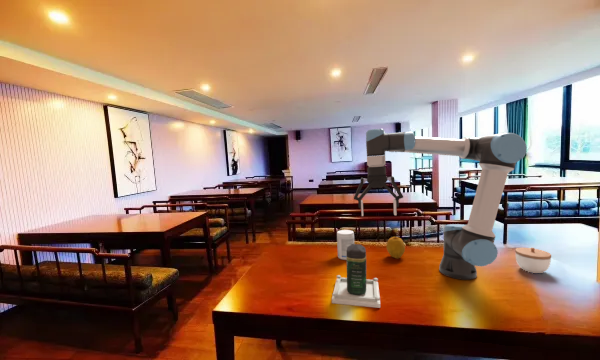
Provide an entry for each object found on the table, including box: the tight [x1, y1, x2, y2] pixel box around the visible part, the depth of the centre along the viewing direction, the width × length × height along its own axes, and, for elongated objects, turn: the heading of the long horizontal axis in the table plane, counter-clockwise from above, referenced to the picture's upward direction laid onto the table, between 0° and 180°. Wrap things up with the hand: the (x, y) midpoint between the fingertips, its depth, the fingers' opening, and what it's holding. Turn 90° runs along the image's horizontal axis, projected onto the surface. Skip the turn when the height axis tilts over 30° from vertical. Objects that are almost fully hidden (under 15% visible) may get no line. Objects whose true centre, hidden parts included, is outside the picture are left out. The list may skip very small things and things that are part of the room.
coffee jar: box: [346, 243, 367, 295], centre depth 107 cm, size 10×8×19 cm
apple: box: [386, 236, 406, 260], centre depth 145 cm, size 10×10×12 cm
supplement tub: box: [336, 229, 355, 261], centre depth 148 cm, size 10×10×15 cm
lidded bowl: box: [514, 247, 552, 274], centre depth 123 cm, size 13×13×11 cm
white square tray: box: [331, 274, 381, 309], centre depth 108 cm, size 18×18×3 cm
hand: (378, 215), depth 113 cm, fingers open, 13 cm apart
